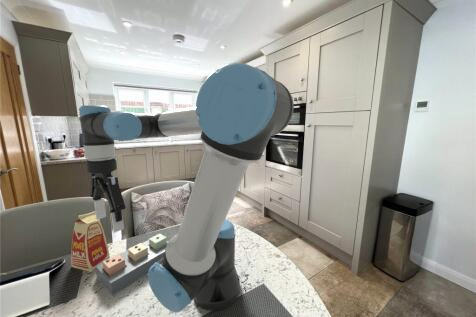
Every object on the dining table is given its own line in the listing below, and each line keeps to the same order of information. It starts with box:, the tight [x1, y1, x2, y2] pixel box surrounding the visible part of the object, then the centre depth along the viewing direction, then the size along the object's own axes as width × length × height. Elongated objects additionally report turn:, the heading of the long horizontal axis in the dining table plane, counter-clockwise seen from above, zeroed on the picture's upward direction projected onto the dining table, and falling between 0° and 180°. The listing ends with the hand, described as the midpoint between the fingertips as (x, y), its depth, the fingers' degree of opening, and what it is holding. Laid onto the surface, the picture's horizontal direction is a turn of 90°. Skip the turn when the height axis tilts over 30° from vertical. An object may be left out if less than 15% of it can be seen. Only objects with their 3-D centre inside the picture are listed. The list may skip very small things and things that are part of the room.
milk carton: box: [70, 210, 111, 273], centre depth 73 cm, size 9×9×20 cm
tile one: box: [148, 233, 168, 250], centre depth 78 cm, size 5×5×3 cm
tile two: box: [127, 242, 148, 262], centre depth 71 cm, size 5×5×3 cm
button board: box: [95, 239, 169, 297], centre depth 72 cm, size 12×23×4 cm, turn 144°
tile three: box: [103, 253, 126, 276], centre depth 65 cm, size 5×5×3 cm
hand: (109, 223), depth 62 cm, fingers open, 12 cm apart
